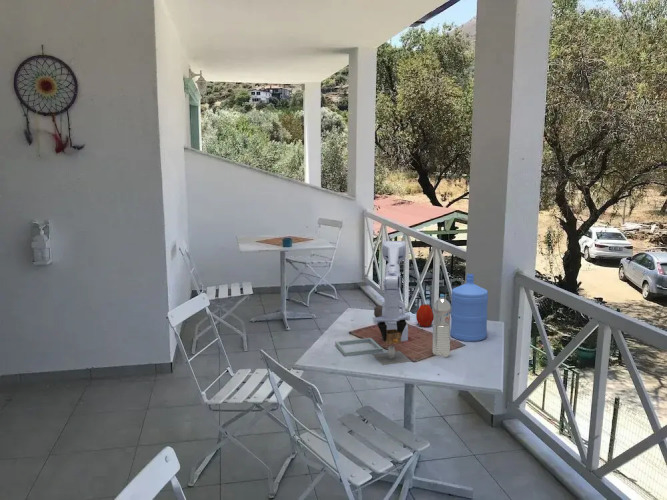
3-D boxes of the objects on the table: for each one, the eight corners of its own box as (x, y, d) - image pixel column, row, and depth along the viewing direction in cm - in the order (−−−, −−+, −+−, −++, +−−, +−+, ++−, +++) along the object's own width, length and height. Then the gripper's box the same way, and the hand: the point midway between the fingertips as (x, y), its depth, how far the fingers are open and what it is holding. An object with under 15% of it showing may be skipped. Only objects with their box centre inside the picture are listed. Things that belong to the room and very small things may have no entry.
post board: (399, 353, 219) (399, 340, 218) (411, 363, 207) (411, 350, 206) (371, 356, 215) (371, 343, 214) (382, 367, 204) (382, 353, 203)
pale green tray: (370, 343, 231) (370, 337, 230) (382, 354, 218) (382, 348, 217) (335, 347, 227) (335, 341, 226) (345, 358, 213) (344, 352, 213)
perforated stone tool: (405, 321, 262) (405, 307, 261) (401, 324, 258) (401, 310, 257) (377, 317, 270) (377, 303, 269) (373, 319, 265) (373, 306, 264)
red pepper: (423, 321, 261) (423, 300, 259) (437, 325, 255) (437, 303, 253) (412, 325, 255) (412, 303, 253) (426, 329, 249) (426, 306, 247)
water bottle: (439, 359, 211) (440, 297, 207) (428, 354, 217) (429, 294, 213) (453, 356, 214) (454, 295, 210) (442, 351, 220) (443, 291, 216)
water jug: (485, 343, 229) (487, 279, 224) (448, 340, 234) (449, 277, 229) (487, 332, 243) (489, 272, 239) (452, 329, 248) (453, 270, 244)
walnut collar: (395, 338, 213) (395, 328, 213) (403, 344, 206) (403, 334, 206) (382, 340, 212) (382, 330, 211) (389, 346, 205) (389, 336, 204)
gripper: (377, 310, 202) (377, 344, 204) (413, 306, 206) (412, 340, 208) (371, 305, 209) (371, 338, 211) (405, 302, 212) (405, 335, 215)
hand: (391, 339), depth 210 cm, fingers closed on walnut collar, 6 cm apart
